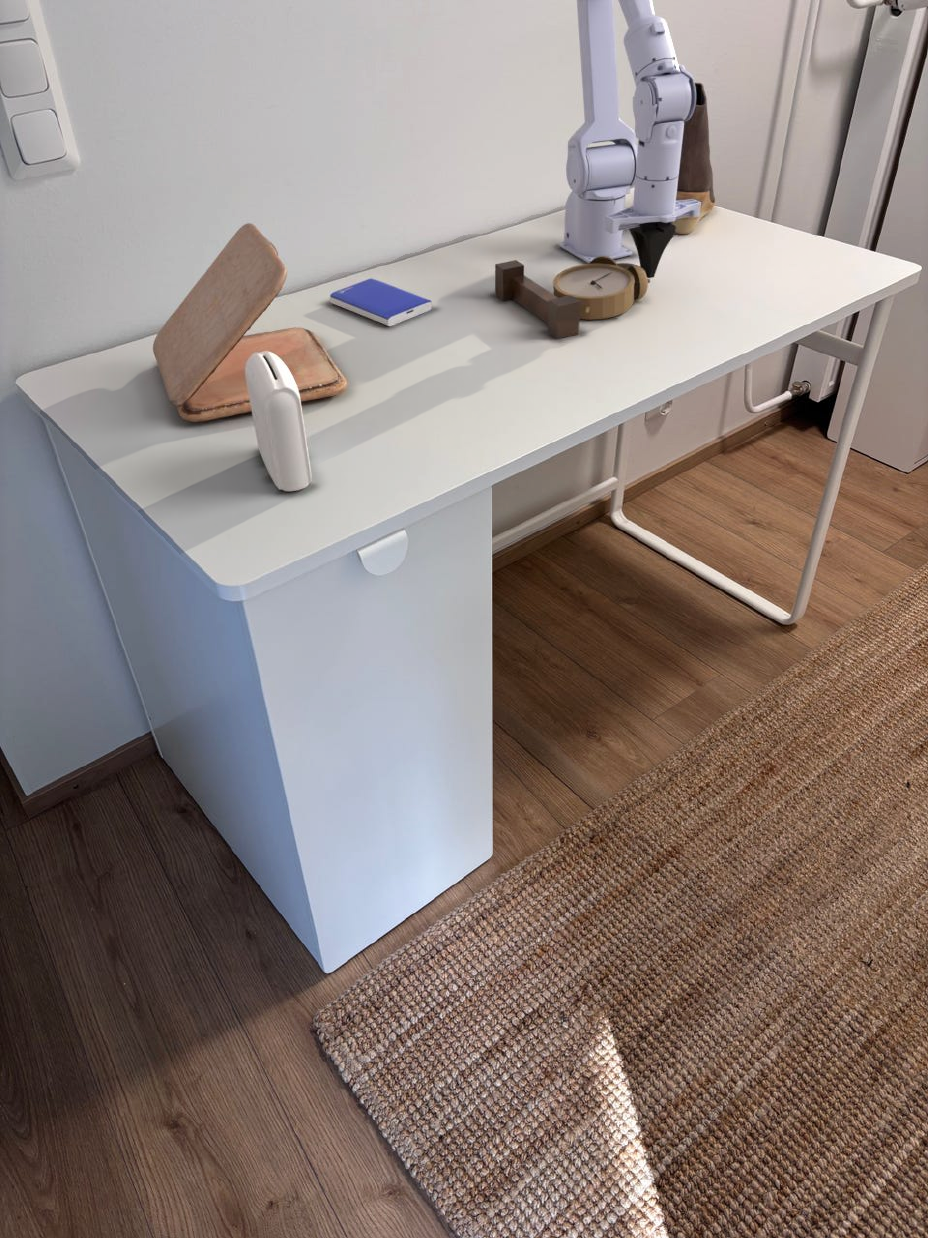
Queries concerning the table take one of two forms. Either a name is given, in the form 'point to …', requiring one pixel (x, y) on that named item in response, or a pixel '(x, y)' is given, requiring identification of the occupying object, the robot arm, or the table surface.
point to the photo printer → (278, 421)
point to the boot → (695, 164)
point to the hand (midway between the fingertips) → (647, 275)
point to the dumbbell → (537, 299)
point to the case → (236, 335)
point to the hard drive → (380, 302)
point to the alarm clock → (602, 287)
